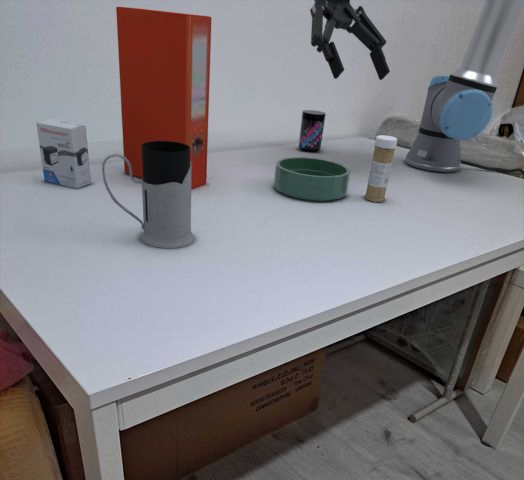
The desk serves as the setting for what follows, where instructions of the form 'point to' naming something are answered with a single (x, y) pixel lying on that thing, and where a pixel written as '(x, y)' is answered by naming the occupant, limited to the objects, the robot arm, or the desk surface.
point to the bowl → (311, 178)
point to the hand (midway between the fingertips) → (362, 75)
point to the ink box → (64, 152)
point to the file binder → (164, 83)
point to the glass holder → (163, 193)
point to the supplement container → (311, 130)
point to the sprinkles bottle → (380, 168)
